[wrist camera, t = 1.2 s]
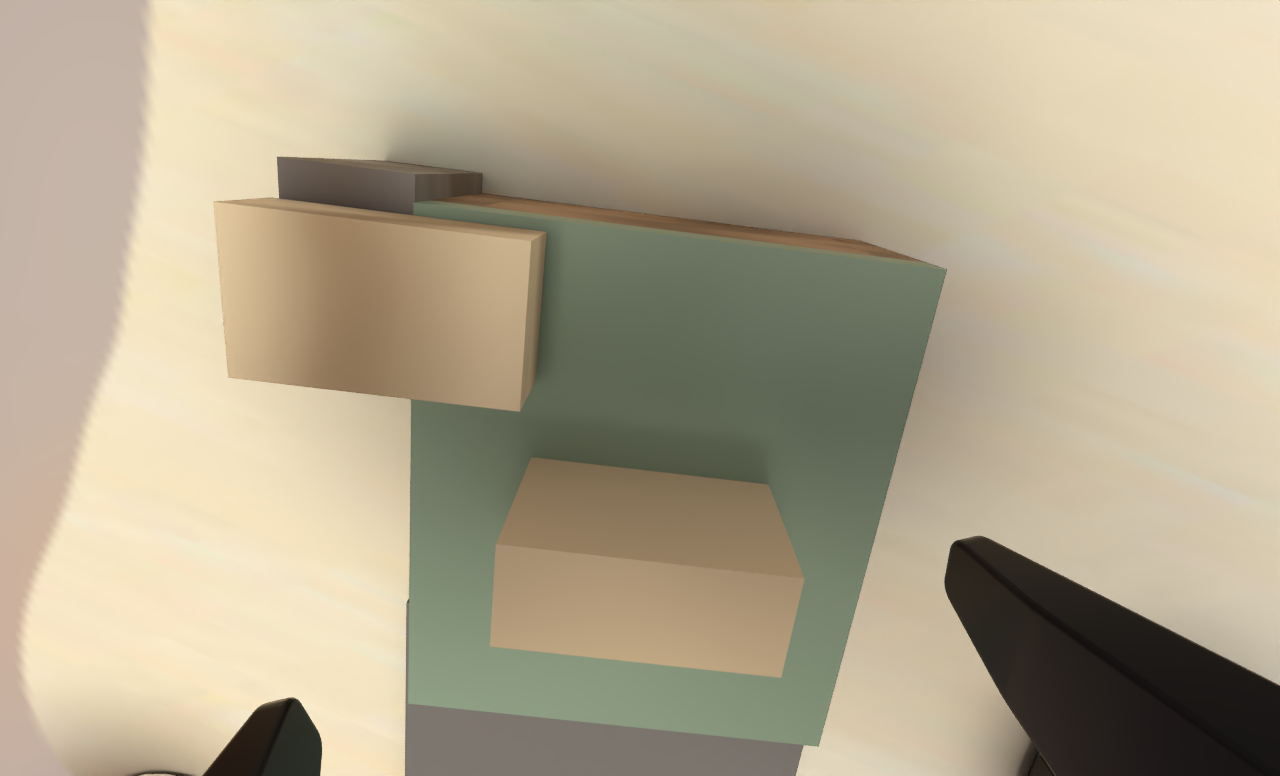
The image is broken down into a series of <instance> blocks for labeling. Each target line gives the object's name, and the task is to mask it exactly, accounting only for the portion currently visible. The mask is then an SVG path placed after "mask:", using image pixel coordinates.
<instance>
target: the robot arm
mask: <svg viewBox="0 0 1280 776" xmlns="http://www.w3.org/2000/svg"><path fill="white" fill-rule="evenodd" d="M945 590H946V593H947V596H948V598H949V600H950V602H951V604H952V606H953V608H954V609H955V611H956V613H957V615H958V617H959V619H960V620H961V622H962V624H963V626H964V628H965V630H966V631H967V633H968V635H969V637H970V639H971V641H972V642H973V644H974V646H975V648H976V650H977V652H978V654H979V655H980V657H981V659H982V661H983V663H984V665H985V666H986V668H987V670H988V672H989V674H990V676H991V677H992V679H993V681H994V683H995V685H996V686H997V688H998V690H999V691H1000V693H1001V695H1002V697H1003V698H1004V700H1005V701H1006V703H1007V705H1008V706H1009V708H1010V709H1011V711H1012V712H1013V714H1014V715H1015V717H1016V718H1017V720H1018V721H1019V723H1020V724H1021V726H1022V727H1023V729H1024V730H1025V732H1026V733H1027V735H1028V736H1029V738H1030V739H1031V740H1032V742H1033V743H1034V745H1035V746H1036V748H1037V749H1038V753H1037V755H1036V757H1035V760H1034V762H1033V765H1032V767H1031V770H1030V772H1029V775H1028V776H1280V685H1278V684H1276V683H1274V682H1272V681H1270V680H1268V679H1266V678H1264V677H1262V676H1260V675H1258V674H1256V673H1254V672H1252V671H1250V670H1248V669H1246V668H1244V667H1242V666H1240V665H1238V664H1236V663H1234V662H1232V661H1230V660H1229V659H1227V658H1225V657H1223V656H1221V655H1219V654H1217V653H1215V652H1213V651H1211V650H1209V649H1207V648H1205V647H1203V646H1201V645H1199V644H1197V643H1195V642H1193V641H1191V640H1189V639H1187V638H1185V637H1183V636H1181V635H1179V634H1177V633H1175V632H1173V631H1171V630H1169V629H1167V628H1165V627H1163V626H1161V625H1159V624H1157V623H1155V622H1153V621H1151V620H1149V619H1147V618H1145V617H1143V616H1141V615H1139V614H1137V613H1135V612H1133V611H1131V610H1129V609H1127V608H1125V607H1123V606H1121V605H1120V604H1118V603H1116V602H1114V601H1112V600H1110V599H1108V598H1106V597H1104V596H1102V595H1100V594H1098V593H1096V592H1094V591H1092V590H1090V589H1088V588H1086V587H1084V586H1082V585H1080V584H1078V583H1076V582H1074V581H1072V580H1070V579H1068V578H1066V577H1064V576H1062V575H1060V574H1058V573H1056V572H1054V571H1052V570H1050V569H1048V568H1046V567H1044V566H1042V565H1040V564H1038V563H1036V562H1034V561H1032V560H1030V559H1028V558H1026V557H1024V556H1022V555H1020V554H1018V553H1016V552H1014V551H1012V550H1011V549H1009V548H1007V547H1005V546H1003V545H1001V544H999V543H997V542H995V541H993V540H991V539H989V538H986V537H983V536H974V537H970V538H965V539H961V540H957V541H955V542H954V543H953V544H952V545H951V548H950V553H949V558H948V564H947V569H946V575H945ZM321 758H322V743H321V738H320V734H319V732H318V730H317V729H316V727H315V725H314V724H313V722H312V720H311V719H310V717H309V716H308V714H307V712H306V711H305V709H304V707H303V706H302V704H301V703H300V701H299V700H297V699H295V698H293V697H292V698H285V699H281V700H277V701H273V702H268V703H265V704H263V705H261V706H260V707H258V708H257V709H256V710H255V711H254V712H253V713H252V715H251V716H250V717H249V718H248V720H247V721H246V722H245V723H244V725H243V726H242V727H241V728H240V729H239V731H238V732H237V733H236V734H235V736H234V737H233V738H232V739H231V741H230V742H229V743H228V744H227V746H226V747H225V748H224V749H223V751H222V752H221V753H220V754H219V756H218V757H217V758H216V759H215V761H214V762H213V763H212V764H211V766H210V767H209V768H208V769H207V771H206V772H205V773H204V774H203V776H320V771H321Z"/></svg>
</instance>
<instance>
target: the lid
mask: <svg viewBox="0 0 1280 776" xmlns="http://www.w3.org/2000/svg"><path fill="white" fill-rule="evenodd" d="M413 215H415V216H423V217H431V218H439V219H447V220H455V221H463V222H471V223H479V224H487V225H495V226H503V227H511V228H520V229H528V230H536V231H544V232H547V234H546V247H545V261H544V275H543V288H542V302H541V315H540V329H539V342H538V356H537V369H536V382H535V384H534V386H533V388H532V390H531V392H530V393H529V395H528V397H527V399H526V401H525V403H524V405H523V407H522V409H521V410H520V412H518V411H509V410H501V409H492V408H484V407H475V406H467V405H458V404H450V403H441V402H432V401H424V400H415V399H411V481H410V576H409V671H408V704H417V705H427V706H436V707H446V708H455V709H465V710H475V711H484V712H494V713H503V714H513V715H522V716H532V717H541V718H551V719H560V720H570V721H580V722H589V723H599V724H608V725H618V726H627V727H637V728H646V729H656V730H665V731H675V732H685V733H694V734H704V735H713V736H723V737H732V738H742V739H751V740H761V741H770V742H780V743H790V744H799V745H809V746H818V747H819V743H820V739H821V735H822V732H823V728H824V724H825V721H826V717H827V713H828V709H829V706H830V702H831V698H832V695H833V691H834V687H835V683H836V680H837V676H838V672H839V669H840V665H841V661H842V657H843V654H844V650H845V646H846V643H847V639H848V635H849V631H850V628H851V624H852V620H853V617H854V613H855V609H856V605H857V602H858V598H859V594H860V591H861V587H862V583H863V579H864V576H865V572H866V568H867V565H868V561H869V557H870V553H871V550H872V546H873V542H874V539H875V535H876V531H877V527H878V524H879V520H880V516H881V513H882V509H883V505H884V501H885V498H886V494H887V490H888V487H889V483H890V479H891V475H892V472H893V468H894V464H895V461H896V457H897V453H898V449H899V446H900V442H901V438H902V435H903V431H904V427H905V423H906V420H907V416H908V412H909V409H910V405H911V401H912V397H913V394H914V390H915V386H916V383H917V379H918V375H919V371H920V368H921V364H922V360H923V357H924V353H925V349H926V345H927V342H928V338H929V334H930V331H931V327H932V323H933V319H934V316H935V312H936V308H937V305H938V301H939V297H940V293H941V290H942V286H943V282H944V279H945V275H946V271H947V269H944V268H941V267H938V266H935V265H932V264H929V263H926V262H918V261H910V260H902V259H894V258H886V257H878V256H870V255H862V254H854V253H846V252H839V251H831V250H823V249H815V248H807V247H799V246H791V245H783V244H775V243H767V242H759V241H751V240H743V239H735V238H727V237H719V236H711V235H703V234H695V233H687V232H679V231H671V230H663V229H655V228H647V227H639V226H632V225H624V224H616V223H608V222H600V221H592V220H584V219H576V218H568V217H560V216H552V215H544V214H536V213H528V212H520V211H512V210H504V209H496V208H488V207H480V206H472V205H464V204H456V203H448V202H440V201H432V200H429V201H422V202H414V203H413Z"/></svg>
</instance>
